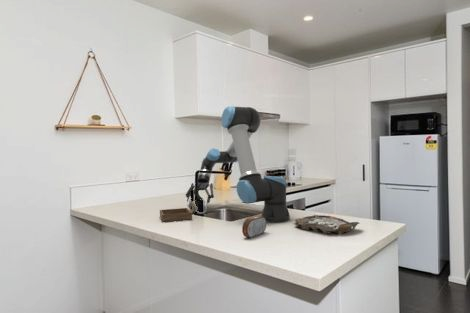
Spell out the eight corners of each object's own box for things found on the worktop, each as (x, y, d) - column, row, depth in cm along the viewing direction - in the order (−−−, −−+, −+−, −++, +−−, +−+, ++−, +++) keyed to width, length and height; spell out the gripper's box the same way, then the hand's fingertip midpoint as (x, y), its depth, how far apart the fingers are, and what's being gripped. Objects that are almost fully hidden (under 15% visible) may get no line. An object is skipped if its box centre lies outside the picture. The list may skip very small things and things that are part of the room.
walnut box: (192, 220, 179) (192, 212, 179) (162, 222, 174) (162, 215, 174) (187, 214, 194) (187, 207, 194) (160, 216, 189) (159, 209, 189)
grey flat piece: (283, 228, 160) (283, 217, 160) (311, 220, 174) (310, 210, 174) (339, 240, 137) (338, 227, 137) (365, 230, 151) (365, 218, 151)
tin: (262, 231, 152) (261, 213, 152) (267, 232, 150) (267, 214, 150) (241, 239, 140) (241, 219, 140) (247, 240, 138) (247, 220, 138)
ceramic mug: (189, 212, 201) (189, 199, 201) (201, 210, 205) (201, 198, 205) (196, 215, 192) (196, 202, 192) (209, 213, 196) (209, 200, 196)
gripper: (222, 181, 213) (216, 210, 198) (188, 181, 217) (180, 209, 202) (220, 173, 207) (214, 203, 192) (185, 174, 212) (177, 202, 197)
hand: (196, 206), depth 197 cm, fingers closed on ceramic mug, 10 cm apart
